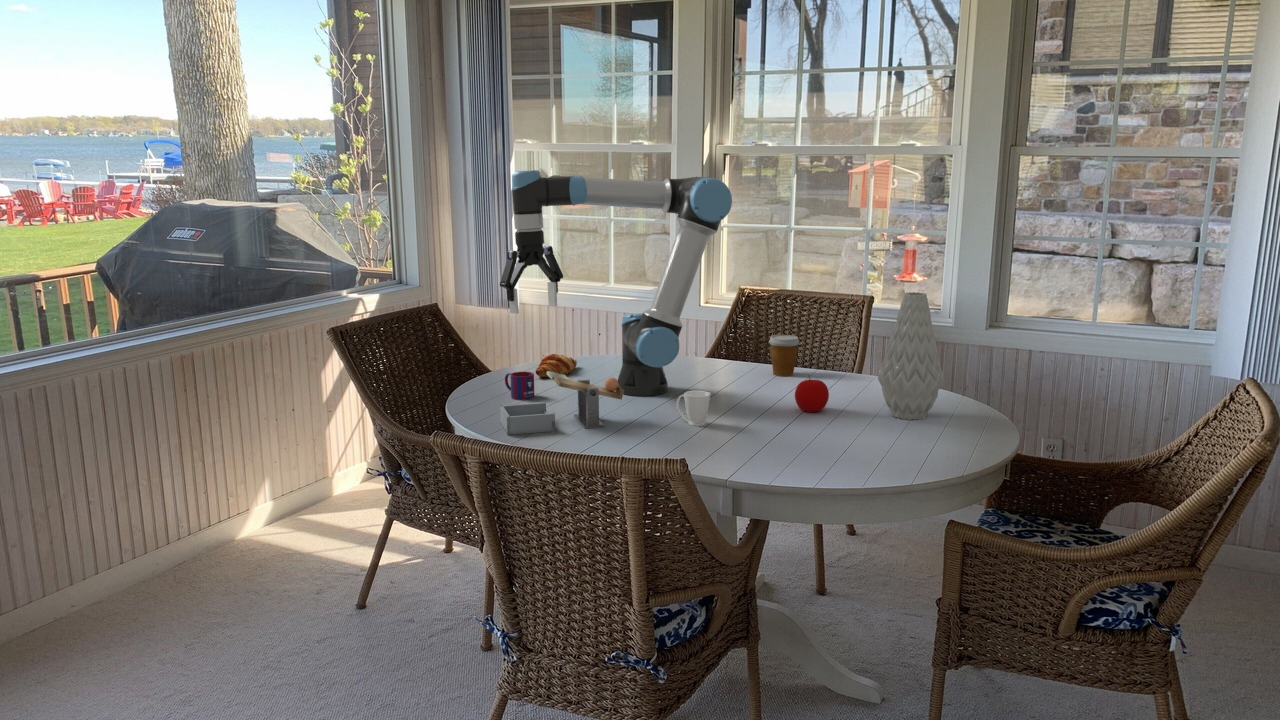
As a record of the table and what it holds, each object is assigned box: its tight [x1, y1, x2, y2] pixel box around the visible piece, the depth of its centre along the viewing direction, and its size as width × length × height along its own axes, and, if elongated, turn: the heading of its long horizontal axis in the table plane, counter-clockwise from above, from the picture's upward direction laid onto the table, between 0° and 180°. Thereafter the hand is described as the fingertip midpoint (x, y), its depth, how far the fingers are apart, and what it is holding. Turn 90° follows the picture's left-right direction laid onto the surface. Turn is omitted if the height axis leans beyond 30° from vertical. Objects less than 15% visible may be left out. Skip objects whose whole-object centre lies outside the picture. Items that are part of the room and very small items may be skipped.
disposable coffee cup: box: [768, 334, 800, 377], centre depth 302 cm, size 10×10×12 cm
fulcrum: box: [573, 379, 605, 429], centre depth 248 cm, size 5×12×10 cm, turn 17°
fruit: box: [794, 374, 830, 413], centre depth 258 cm, size 9×9×10 cm
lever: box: [547, 371, 624, 400], centre depth 250 cm, size 18×14×3 cm
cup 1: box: [504, 371, 535, 401], centre depth 275 cm, size 7×10×7 cm
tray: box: [499, 401, 556, 436], centre depth 244 cm, size 12×12×4 cm
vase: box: [877, 291, 945, 420], centre depth 250 cm, size 17×17×33 cm
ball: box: [604, 376, 618, 391], centre depth 249 cm, size 4×4×4 cm
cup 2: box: [675, 390, 712, 427], centre depth 247 cm, size 7×10×8 cm
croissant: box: [535, 353, 578, 378], centre depth 305 cm, size 21×10×8 cm, turn 151°
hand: (534, 309), depth 257 cm, fingers open, 13 cm apart
